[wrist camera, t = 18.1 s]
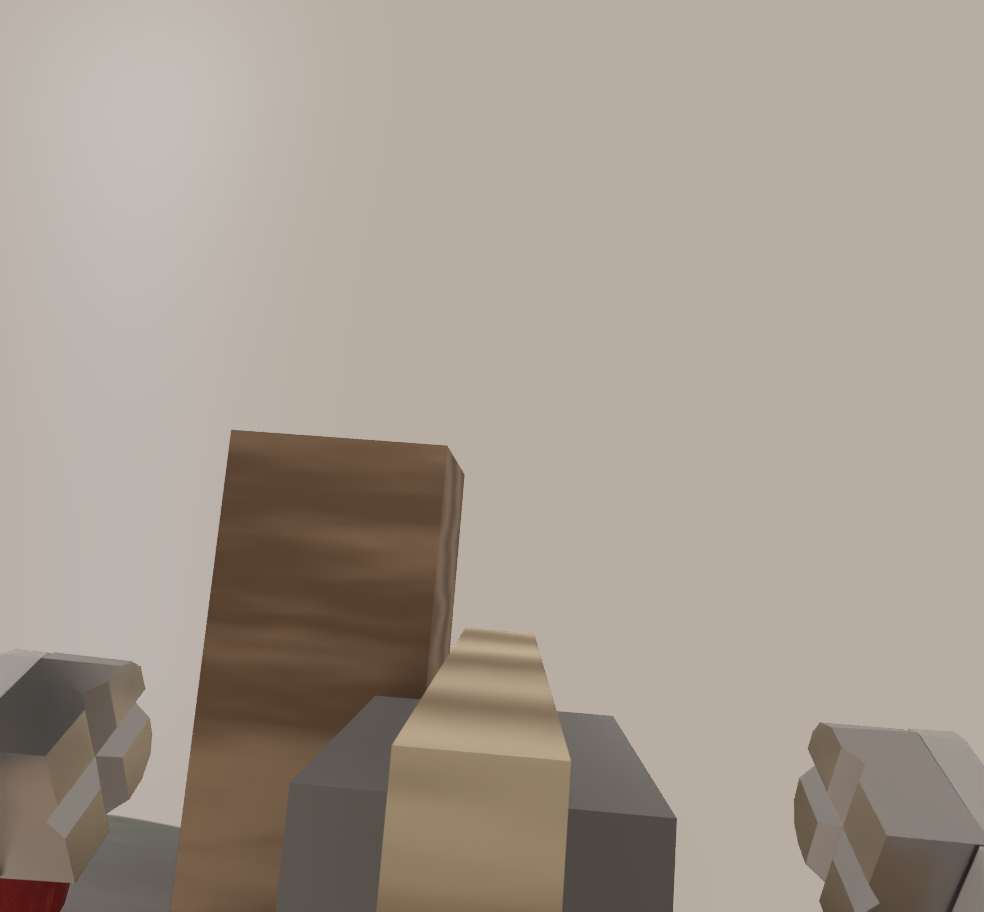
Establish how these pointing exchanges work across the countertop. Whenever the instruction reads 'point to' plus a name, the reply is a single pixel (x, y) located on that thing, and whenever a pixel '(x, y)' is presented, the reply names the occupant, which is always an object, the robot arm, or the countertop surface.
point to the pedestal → (307, 634)
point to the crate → (590, 827)
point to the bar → (479, 787)
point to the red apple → (32, 895)
